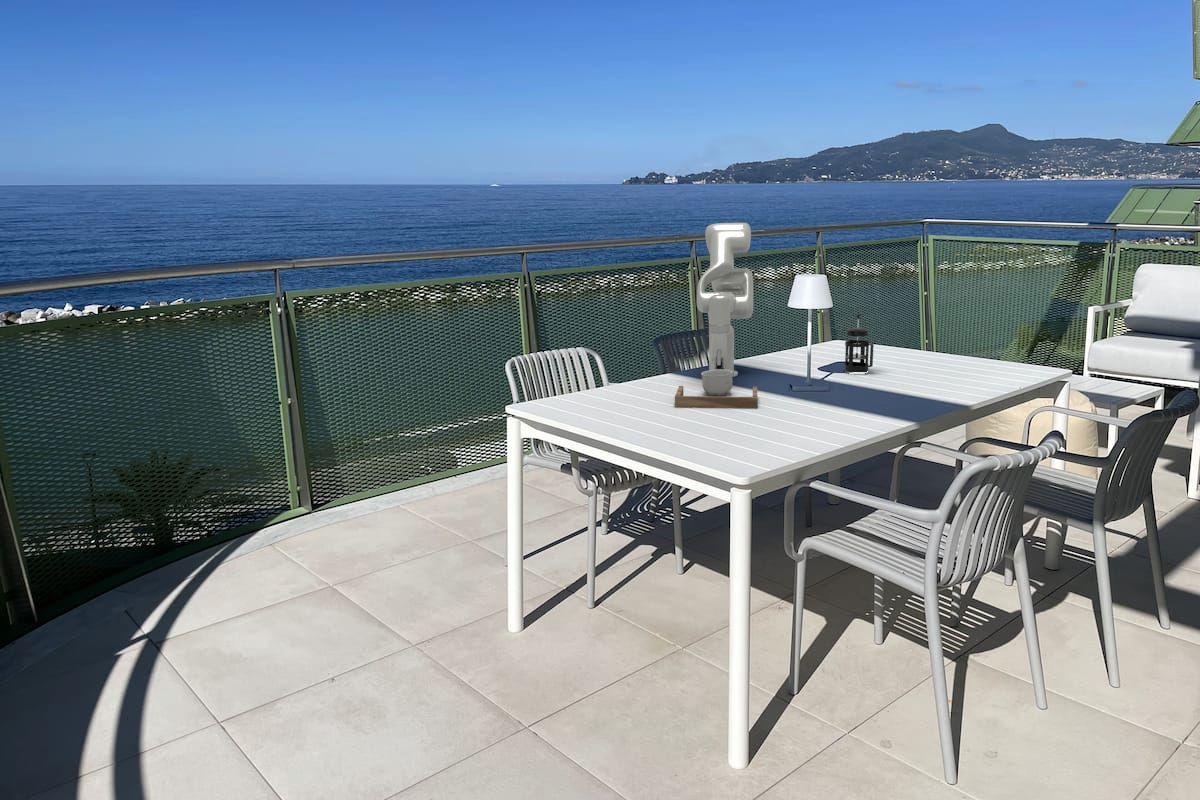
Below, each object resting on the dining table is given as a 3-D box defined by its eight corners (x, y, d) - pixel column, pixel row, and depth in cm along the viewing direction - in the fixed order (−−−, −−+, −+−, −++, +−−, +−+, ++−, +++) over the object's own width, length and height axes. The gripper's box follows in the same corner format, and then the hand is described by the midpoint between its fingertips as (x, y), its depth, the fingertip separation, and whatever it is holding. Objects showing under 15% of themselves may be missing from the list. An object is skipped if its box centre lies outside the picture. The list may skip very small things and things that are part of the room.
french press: (837, 372, 335) (839, 313, 330) (850, 369, 341) (852, 311, 336) (864, 376, 326) (867, 316, 321) (877, 372, 333) (880, 313, 328)
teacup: (731, 397, 297) (731, 375, 296) (699, 397, 300) (699, 374, 298) (734, 389, 311) (734, 367, 309) (703, 388, 313) (703, 366, 311)
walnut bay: (679, 395, 303) (679, 385, 302) (757, 396, 298) (757, 386, 297) (674, 407, 286) (674, 397, 285) (757, 408, 281) (757, 397, 281)
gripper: (710, 326, 317) (709, 375, 321) (708, 332, 303) (707, 383, 307) (730, 326, 316) (730, 375, 320) (729, 332, 301) (729, 383, 305)
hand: (719, 379), depth 313 cm, fingers closed
